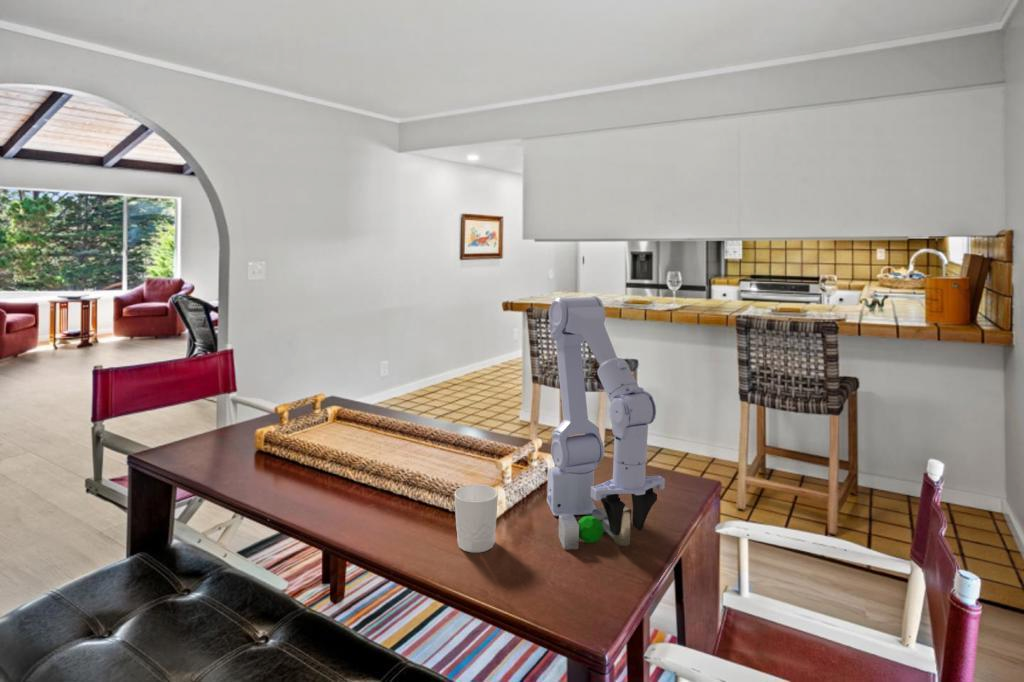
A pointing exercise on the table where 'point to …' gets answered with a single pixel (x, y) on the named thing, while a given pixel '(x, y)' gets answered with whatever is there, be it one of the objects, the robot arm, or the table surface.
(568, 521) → the light grey block
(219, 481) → the table surface
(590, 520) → the polyhedron
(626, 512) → the lever
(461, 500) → the white cup
